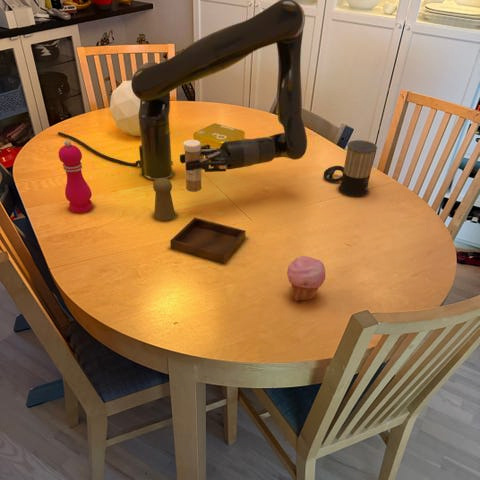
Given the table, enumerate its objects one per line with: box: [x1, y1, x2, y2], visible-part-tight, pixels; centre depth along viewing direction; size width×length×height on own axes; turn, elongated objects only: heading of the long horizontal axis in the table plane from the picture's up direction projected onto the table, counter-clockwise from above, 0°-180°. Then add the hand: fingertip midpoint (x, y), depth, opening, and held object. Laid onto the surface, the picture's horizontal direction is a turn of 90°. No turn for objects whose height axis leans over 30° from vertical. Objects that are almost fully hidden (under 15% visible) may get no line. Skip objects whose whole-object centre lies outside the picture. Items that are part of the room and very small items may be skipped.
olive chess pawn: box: [152, 178, 176, 222], centre depth 132 cm, size 6×6×11 cm
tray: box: [169, 217, 247, 265], centre depth 125 cm, size 16×14×2 cm
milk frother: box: [323, 139, 378, 197], centre depth 150 cm, size 14×16×15 cm
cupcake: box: [286, 255, 326, 302], centre depth 107 cm, size 9×9×10 cm
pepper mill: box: [58, 139, 93, 214], centre depth 131 cm, size 7×7×20 cm
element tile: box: [193, 122, 246, 148], centre depth 177 cm, size 15×15×5 cm
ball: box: [109, 79, 141, 137], centre depth 177 cm, size 19×20×20 cm
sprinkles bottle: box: [183, 139, 202, 193], centre depth 130 cm, size 5×5×13 cm
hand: (183, 162), depth 128 cm, fingers closed on sprinkles bottle, 4 cm apart
